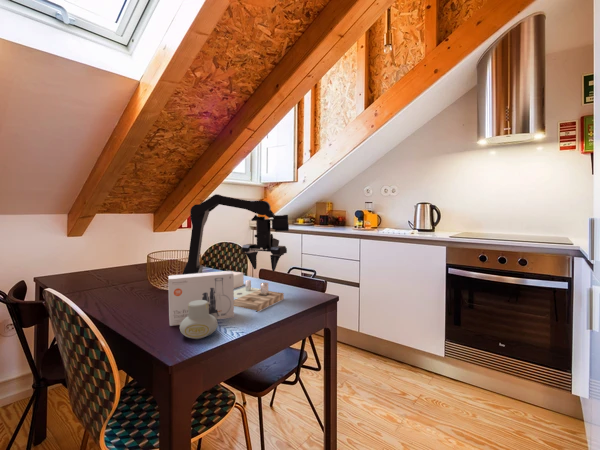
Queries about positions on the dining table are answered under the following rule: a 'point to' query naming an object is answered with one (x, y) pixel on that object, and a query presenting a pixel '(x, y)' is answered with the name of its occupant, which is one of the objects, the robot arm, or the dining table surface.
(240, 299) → the hole board
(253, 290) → the plate
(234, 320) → the dining table surface
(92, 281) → the dining table surface
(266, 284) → the pin
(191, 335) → the air freshener
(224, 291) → the skincare box
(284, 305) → the dining table surface
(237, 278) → the white rectangular block
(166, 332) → the dining table surface
